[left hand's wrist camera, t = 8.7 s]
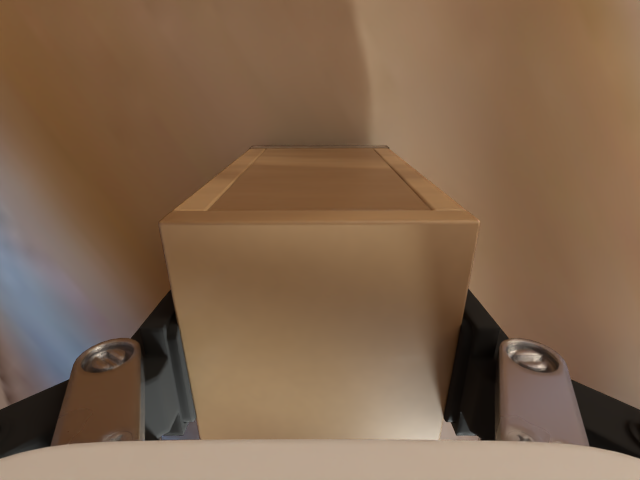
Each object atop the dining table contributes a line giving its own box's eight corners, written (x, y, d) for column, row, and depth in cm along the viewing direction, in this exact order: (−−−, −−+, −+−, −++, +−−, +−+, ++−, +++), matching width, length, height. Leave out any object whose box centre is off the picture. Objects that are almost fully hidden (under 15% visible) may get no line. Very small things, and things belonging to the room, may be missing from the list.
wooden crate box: (366, 433, 25) (398, 664, 15) (273, 433, 25) (242, 665, 15) (386, 145, 17) (482, 220, 7) (252, 145, 17) (155, 220, 7)
